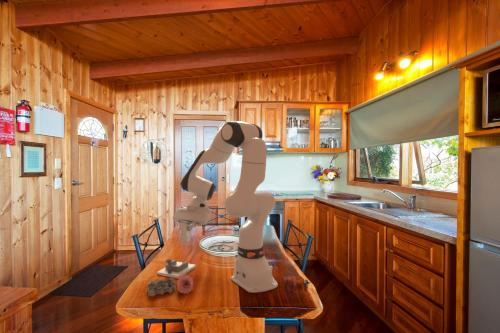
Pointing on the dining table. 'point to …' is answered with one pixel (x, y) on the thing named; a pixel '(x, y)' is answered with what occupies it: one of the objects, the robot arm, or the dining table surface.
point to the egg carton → (155, 286)
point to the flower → (185, 284)
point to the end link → (185, 231)
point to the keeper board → (175, 268)
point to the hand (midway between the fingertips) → (184, 229)
